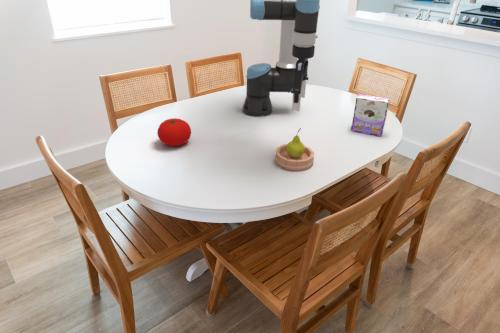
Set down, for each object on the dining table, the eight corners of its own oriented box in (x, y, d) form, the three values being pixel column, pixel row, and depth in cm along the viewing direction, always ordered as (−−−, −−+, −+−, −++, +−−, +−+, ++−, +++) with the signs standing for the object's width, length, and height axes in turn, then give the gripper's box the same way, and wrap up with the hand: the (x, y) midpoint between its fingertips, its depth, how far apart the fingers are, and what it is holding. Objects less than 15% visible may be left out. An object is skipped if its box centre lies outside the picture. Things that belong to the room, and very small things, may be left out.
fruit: (290, 162, 142) (293, 134, 136) (282, 154, 147) (284, 126, 141) (306, 159, 145) (309, 131, 138) (297, 151, 150) (300, 124, 144)
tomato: (180, 133, 167) (178, 111, 161) (198, 143, 159) (196, 120, 154) (152, 143, 158) (149, 120, 153) (169, 154, 150) (167, 130, 145)
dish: (271, 167, 142) (272, 158, 140) (278, 150, 155) (279, 141, 153) (310, 173, 139) (312, 164, 137) (315, 155, 152) (316, 146, 150)
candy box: (383, 132, 172) (390, 98, 164) (381, 137, 167) (388, 102, 159) (352, 126, 177) (358, 93, 168) (350, 131, 172) (356, 97, 164)
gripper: (310, 54, 115) (304, 118, 126) (318, 37, 136) (312, 93, 147) (286, 52, 117) (282, 115, 128) (298, 35, 137) (293, 91, 149)
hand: (298, 103), depth 138 cm, fingers open, 13 cm apart
